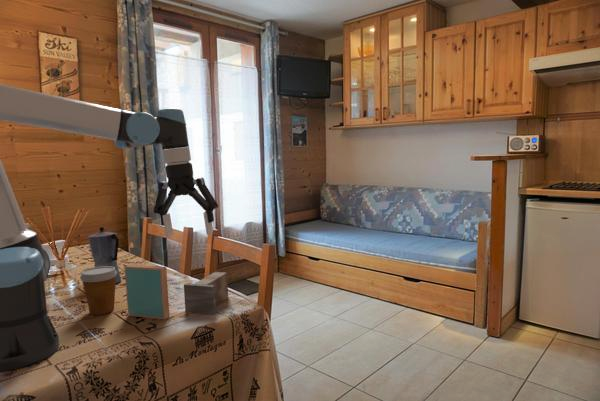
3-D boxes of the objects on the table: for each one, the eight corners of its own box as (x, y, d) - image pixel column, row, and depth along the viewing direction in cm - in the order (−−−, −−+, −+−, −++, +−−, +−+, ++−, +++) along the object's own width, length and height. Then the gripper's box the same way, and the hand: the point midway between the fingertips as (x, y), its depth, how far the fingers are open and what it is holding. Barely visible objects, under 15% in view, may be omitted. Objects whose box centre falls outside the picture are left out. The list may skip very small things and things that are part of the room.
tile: (164, 319, 108) (161, 268, 106) (127, 315, 111) (123, 266, 110) (169, 316, 110) (166, 266, 108) (133, 312, 113) (129, 264, 112)
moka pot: (106, 276, 150) (102, 224, 147) (135, 281, 142) (130, 226, 140) (82, 284, 141) (77, 228, 139) (111, 290, 134) (106, 231, 132)
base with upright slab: (57, 268, 164) (54, 239, 162) (75, 269, 161) (72, 240, 160) (37, 275, 155) (34, 244, 154) (56, 276, 153) (53, 245, 151)
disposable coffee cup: (127, 305, 119) (123, 266, 118) (105, 318, 110) (101, 275, 109) (99, 304, 121) (95, 265, 120) (75, 316, 112) (71, 274, 111)
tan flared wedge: (213, 315, 110) (212, 286, 109) (185, 312, 113) (183, 284, 112) (235, 298, 122) (234, 273, 122) (209, 296, 125) (208, 271, 124)
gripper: (222, 158, 116) (233, 229, 119) (149, 166, 123) (160, 233, 126) (210, 160, 109) (221, 235, 112) (133, 168, 116) (145, 239, 119)
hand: (189, 234), depth 119 cm, fingers open, 13 cm apart
